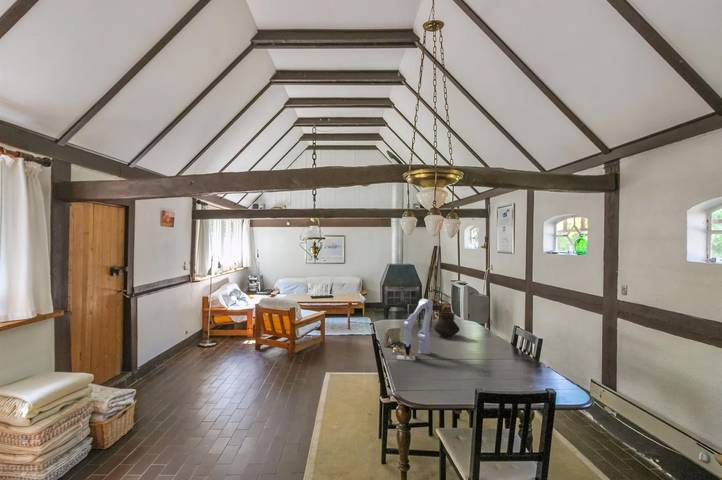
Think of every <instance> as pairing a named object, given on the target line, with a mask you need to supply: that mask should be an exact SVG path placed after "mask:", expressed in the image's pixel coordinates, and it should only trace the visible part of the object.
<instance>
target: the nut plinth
mask: <svg viewBox="0 0 722 480" xmlns="http://www.w3.org/2000/svg"><path fill="white" fill-rule="evenodd" d="M391 354H392V355H400V352H393V348H392V349H391V350H390V355H391Z"/></svg>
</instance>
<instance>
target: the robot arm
mask: <svg viewBox="0 0 722 480" xmlns="http://www.w3.org/2000/svg"><path fill="white" fill-rule="evenodd" d="M433 306H434V303H433V300H432V299H428V298H420V299H419V301H418V305H417V307H416V308H415V310H414V311H413V313H411V314H409V317H408V318H407V319H406V320H405V321H404V322H403V323H402V328H403V341H402V343H403V347H404V350H405V351H406V355H409V351H410V350H411V347H412V329H413V327H414V323H415V322H416V320H417V319H418V315H419V314H420V312H422V310H423V309H424V310H425V312H424V317H423V320H422V326H421V329H420V330H419V331H418V333H417V336H416V338H417V340H418V355H419V354H420V355H431V352H432V351H431V342H430V340H431V333H430V331H429V328H430V323H431V319H432V314H433Z"/></svg>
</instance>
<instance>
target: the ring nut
mask: <svg viewBox="0 0 722 480" xmlns="http://www.w3.org/2000/svg"><path fill="white" fill-rule="evenodd" d="M392 349H393V352H400V350H401V347H399V346H398V345H397V344H396V345H395V346H393V347H392Z"/></svg>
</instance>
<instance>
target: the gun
mask: <svg viewBox="0 0 722 480" xmlns="http://www.w3.org/2000/svg"><path fill="white" fill-rule="evenodd" d="M401 328H402V327H401V326H396V327H388V328H385V330H384V331H383V334H384V336H383V341H382V343H383V347H386V348H387V347H388V346H390V344H393V343H394V344H395V343H399V342H401V338H400V337H401V336H400V333H401ZM389 339H390V340H391V341H389Z"/></svg>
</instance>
